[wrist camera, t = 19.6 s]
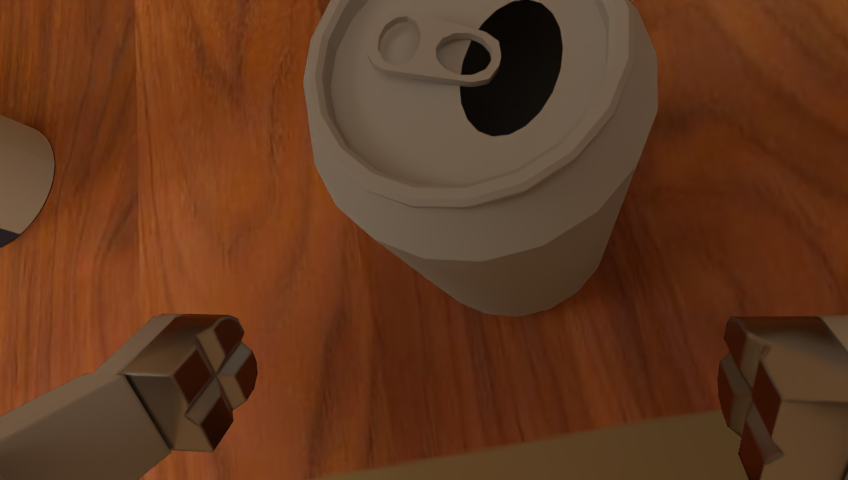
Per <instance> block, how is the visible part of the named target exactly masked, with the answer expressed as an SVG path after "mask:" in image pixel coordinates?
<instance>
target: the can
mask: <svg viewBox="0 0 848 480" xmlns="http://www.w3.org/2000/svg"><path fill="white" fill-rule="evenodd" d="M303 85H304V92H305V98H306V105H307V112H308V119H309V128H310V135H311V142H312V149H313V156H314V163H315V167H316V169H317V171H318V172H319V174H320V176H321V178H322V180H323V182H324V184H325V185H326V187H327V189H328V191H329V193H330V195H331V197H332V199H333V200H334V202H335V204H336V206H337V207H338V208H339V209H340V210H341V211H342V212H344V213H345V214H346V215H347V216H348V217H349V218H350V219H352V220H353V221H354V222H355V223H356V224H357V225H358V226H359V227H361V228H362V229H363V230H364V231H365V232H366V233H367V234H369V235H370V236H371V237H372V238H373V239H374V240H376V241H377V242H378V243H380V244H381V245H382V246H384V247H385V248H386V249H388V250H389V251H390V252H392V253H393V254H394V255H396V256H397V257H398V258H400V259H401V260H403V261H404V262H405V263H407V264H408V265H409V266H411V267H412V268H413V269H415V270H416V271H417V272H419V273H420V274H421V275H423V276H424V277H425V278H427V279H428V280H429V281H431V282H432V283H433V284H435V285H436V286H437V287H439V288H440V289H441V290H443V291H444V292H445V293H447V294H448V295H449V296H451V297H452V298H453V299H455V300H456V301H457V302H459V303H461V304H464V305H466V306H468V307H471V308H473V309H476V310H478V311H480V312H483V313H485V314H490V315H503V316H515V317H520V316H524V315H528V314H532V313H536V312H541V311H545V310H549V309H551V308H553V307H554V306H556V305H558V304H559V303H561V302H563V301H564V300H566V299H568V298H569V297H571V296H572V295H574V294H576V293H577V292H578V291H579V290H580V289H581V288H582V286H583V285H584V284H585V283H586V282H587V281H588V279H589V278H590V277H591V276H592V275H593V273H594V272H595V271H596V270H597V269H598V267H599V264H600V262H601V259H602V256H603V254H604V251H605V248H606V246H607V243H608V240H609V238H610V235H611V233H612V230H613V227H614V225H615V222H616V219H617V217H618V214H619V211H620V209H621V206H622V204H623V201H624V198H625V196H626V193H627V190H628V188H629V185H630V182H631V180H632V177H633V175H634V172H635V169H636V167H637V164H638V161H639V159H640V156H641V153H642V151H643V148H644V145H645V143H646V140H647V138H648V135H649V132H650V130H651V127H652V124H653V122H654V119H655V116H656V114H657V111H658V63H657V54H656V51H655V49H654V47H653V44H652V42H651V39H650V37H649V35H648V32H647V30H646V28H645V25H644V23H643V21H642V18H641V16H640V14H639V11H638V9H637V8H636V7H635V6H634V5H633V4H632V3H631V2H630V1H629V0H330V2H329V4H328V6H327V8H326V10H325V12H324V14H323V16H322V18H321V20H320V22H319V24H318V26H317V28H316V30H315V32H314V34H313V36H312V38H311V41H310V46H309V52H308V57H307V62H306V68H305V73H304V79H303Z"/></svg>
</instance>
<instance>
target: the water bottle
mask: <svg viewBox="0 0 848 480" xmlns="http://www.w3.org/2000/svg"><path fill="white" fill-rule="evenodd" d="M54 166H55V162H54V155H53V151H52V148H51V145H50V143H49V141H48V140H47V138H46V137H45V136H44V135H43V134H42V133H41V132H39V131H38V130H36V129H33V128H31V127H29V126H26V125H24V124H21V123H19V122H17V121H14V120H12V119H9V118H7V117H4V116H2V115H0V247H1V246H3V245H5V244H7V243H9V242H10V241H12V240H13V239H15V238H16V237H17V236H19V235H20V234H21V233H22V232H23V231H24V230H25V229H26V228H27V227H28V226H29V225H30V224H31V223H32V221H33V220H34V219H35V217H36V216H37V215H38V213H39V212H40V210H41V208H42V207H43V205H44V203H45V201H46V199H47V196H48V194H49V191H50V188H51V185H52V181H53V176H54Z"/></svg>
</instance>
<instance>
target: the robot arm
mask: <svg viewBox="0 0 848 480" xmlns="http://www.w3.org/2000/svg"><path fill="white" fill-rule="evenodd" d="M243 335H244V330H243V328H242V326H241V324H240V322H239V320H238V318H235V317H233V316H230V315H208V314H161V315H158V316H154V317H153V318H152V319H150V320H149V321H148V322H147V323H146V324H145V325H144V326H143V327H142V328H141V329H140V330H139V331H138V332H137V333H135V334H134V335H133V336H132V337H131V338H130V339H129V340H128V341H127V342H126V343H125V344H124V345H123V346H122V347H120V348H119V349H118V350H117V351H116V352H115V353H114V354H113V355H112V356H111V357H110V358H109V359H108V360H107V361H105V362H104V363H103V364H102V365H101V366H100V367H99V368H98V369H97V370H96V371H95V372H94V373H93V374H88V373H85V374H83V375H81V376H79V377H77V378H75V379H73V380H71V381H69V382H67V383H65V384H63V385H61V386H60V387H58V388H56V389H54V390H52V391H50V392H48V393H46V394H44V395H42V396H40V397H38V398H36V399H34V400H32V401H30V402H28V403H26V404H24V405H22V406H20V407H18V408H16V409H14V410H12V411H10V412H8V413H6V414H4V415H2V416H0V480H138V479H139V478H140V477H142V476H143V475H144V474H145V473H147V472H148V471H149V470H150V469H152V468H153V467H154V466H155V465H157V464H158V463H159V462H160V461H161V460H163V459H164V458H165V457H166V456H168V455H169V454H170V453H171V451H170V450H179V451H198V452H213V451H214V450H215V448H216V447H217V445H218V444H219V442H220V441H221V439H222V438H223V436H224V434H225V433H226V431H227V430H228V428H229V427H230V425H231V424H232V422H233V410H234V409H236V408H237V407H239V406H240V405H241V404H243V403H244V402H246V401H247V399H248V398H249V396H250V394H251V393H252V391H253V390H254V387H255V383H256V378H257V374H258V371H257V362H256V359H255V356H254V354H253V351H252V350H251V349H250V348H248V347H247V346H246V345H245V344H244V343H242V342H241V341H242V338H243ZM724 340H725V342H726V344H727V347H728V349H729V351H730V353H729V354H728V355H727V356H726V357H725V358H723V359H722V360H721V361H720V363H719V370H718V378H717V381H718V396H719V401H720V405H721V409H722V413H723V415H724V418H725V421H726V423H727V426H728V427H729V428H730V429H731V430H733V431H734V432H735V433H737V434H738V435H739V436H740V437H742V439H741V444H740V448H739V453H738V454H739V456H740V459H741V461H742V464H743V466H744V469H745V471H746V474H747V476H748V479H749V480H848V315H813V316H812V317H811V316H731V317H730V319H729V321H728V322H727V324H726V329H725V334H724Z"/></svg>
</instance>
